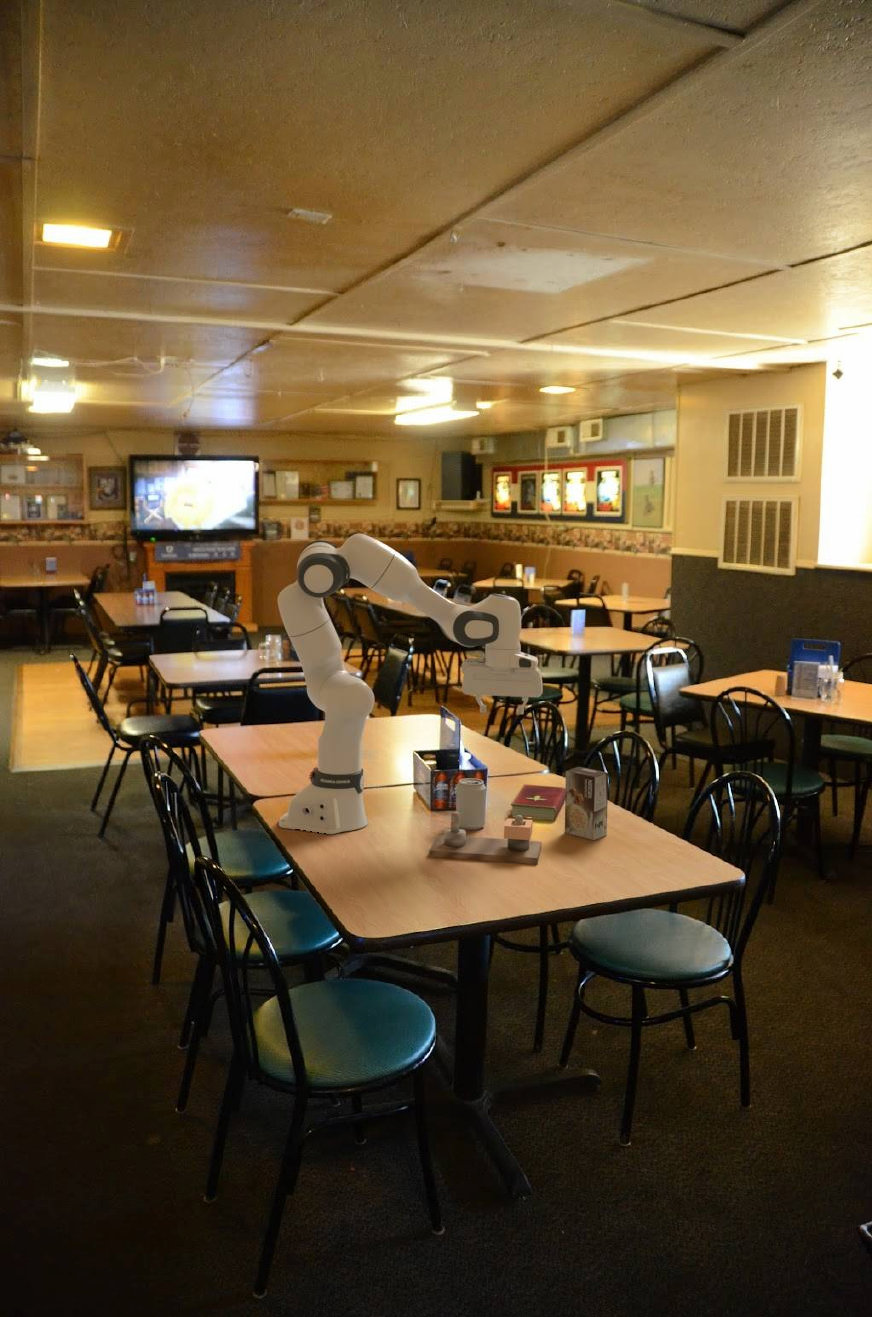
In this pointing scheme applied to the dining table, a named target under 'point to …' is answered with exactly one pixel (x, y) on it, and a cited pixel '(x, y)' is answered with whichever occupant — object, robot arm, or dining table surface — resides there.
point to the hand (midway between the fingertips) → (501, 713)
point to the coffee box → (586, 803)
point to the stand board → (484, 846)
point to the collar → (518, 830)
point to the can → (471, 803)
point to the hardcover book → (538, 801)
